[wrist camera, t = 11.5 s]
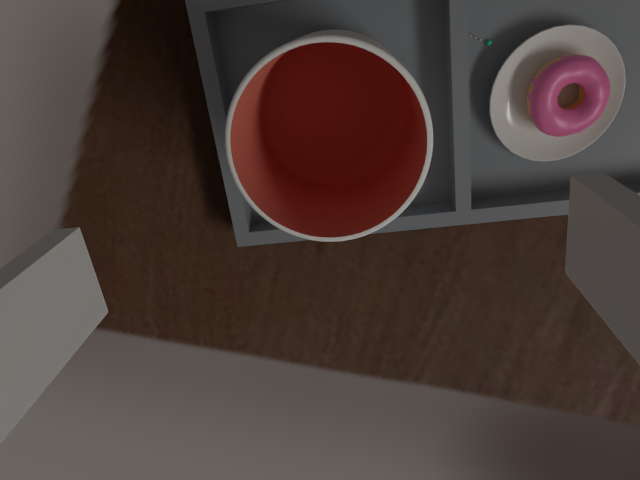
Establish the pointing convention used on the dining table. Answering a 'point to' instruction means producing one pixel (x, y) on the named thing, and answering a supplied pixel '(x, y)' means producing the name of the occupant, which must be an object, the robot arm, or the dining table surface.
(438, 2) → the carrier tray
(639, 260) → the robot arm
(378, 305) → the dining table surface
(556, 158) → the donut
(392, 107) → the cup
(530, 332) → the dining table surface
